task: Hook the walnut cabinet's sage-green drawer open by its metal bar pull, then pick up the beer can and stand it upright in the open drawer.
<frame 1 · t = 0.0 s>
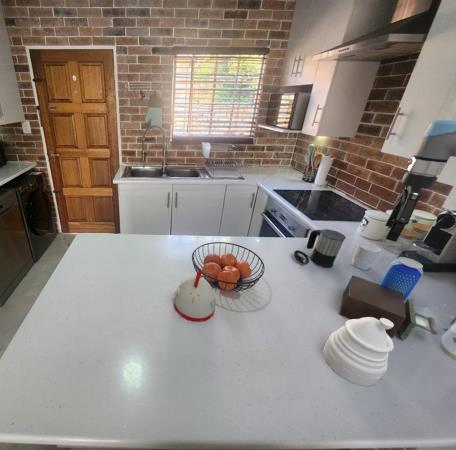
hand: (390, 233, 87), 25 cm above the countertop, tool pointing down, fingers open, 13 cm apart
white cup: (359, 265, 112), on the countertop
cabinet: (365, 313, 86), on the countertop
white and red dome: (194, 306, 86), on the countertop
honey pot: (349, 363, 69), on the countertop
drawer: (394, 313, 80), point 4 cm above the countertop, slide at 1.5 cm
milk frother: (312, 262, 113), on the countertop
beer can: (388, 297, 94), on the countertop
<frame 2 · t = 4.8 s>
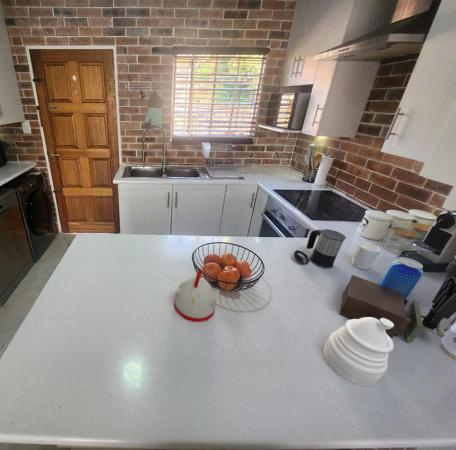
hand: (426, 327, 76), 4 cm above the countertop, tool pointing down, fingers closed
drawer: (399, 315, 80), point 4 cm above the countertop, slide at 2.9 cm, touching gripper
everything else where it was.
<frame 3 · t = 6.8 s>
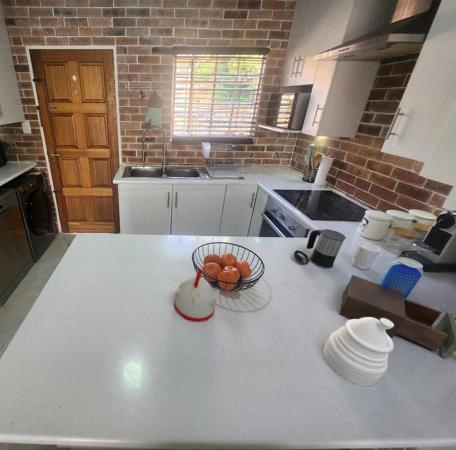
drawer: (433, 328, 75), point 4 cm above the countertop, slide at 10.7 cm
everything else where it was.
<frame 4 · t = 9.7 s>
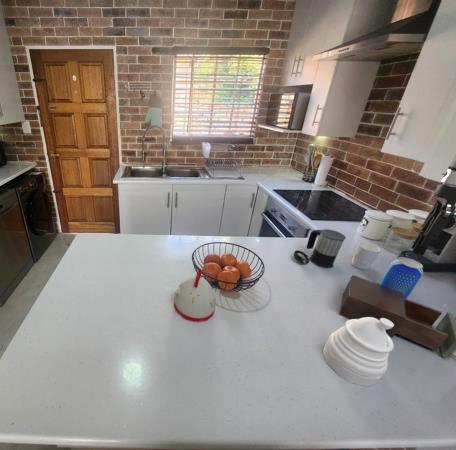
hand: (416, 251, 84), 21 cm above the countertop, tool pointing down, fingers open, 3 cm apart
nothing on the countertop moved.
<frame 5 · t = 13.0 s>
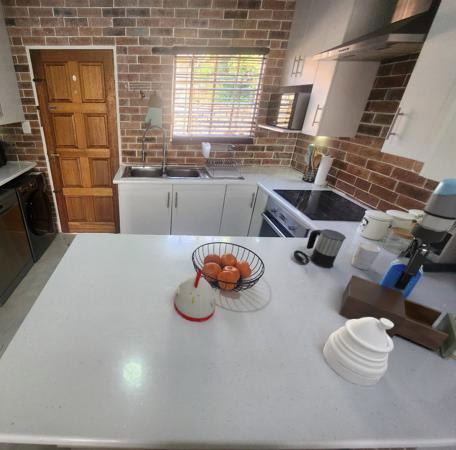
hand: (398, 281, 90), 7 cm above the countertop, tool pointing down, fingers closed on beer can, 8 cm apart
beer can: (388, 297, 94), on the countertop, touching gripper
everything else where it was.
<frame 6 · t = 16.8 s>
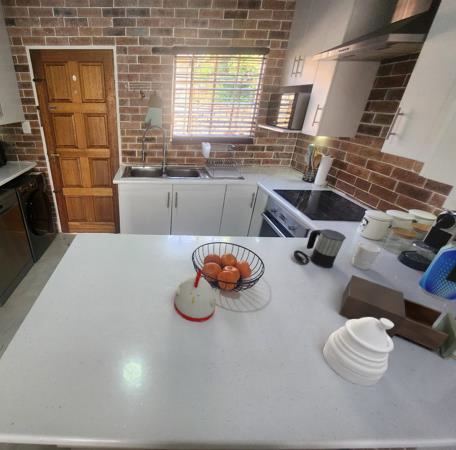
hand: (449, 273, 70), 22 cm above the countertop, tool pointing down, fingers closed on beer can, 8 cm apart
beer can: (434, 293, 74), point 15 cm above the countertop, touching gripper
everything else where it was.
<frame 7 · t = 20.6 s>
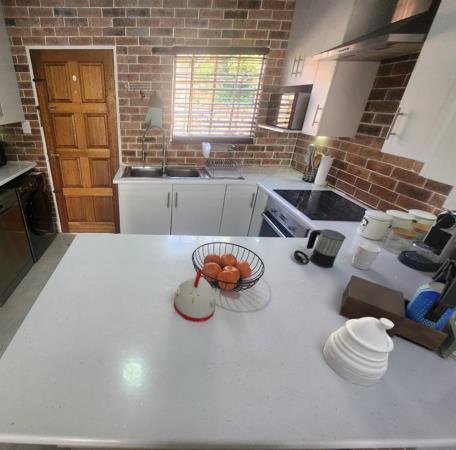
hand: (427, 311, 75), 9 cm above the countertop, tool pointing down, fingers closed on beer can, 8 cm apart
drawer: (433, 328, 75), point 4 cm above the countertop, slide at 10.6 cm, touching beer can
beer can: (414, 328, 78), point 2 cm above the countertop, touching drawer, gripper
everything else where it was.
when the fingers open (9 cm above the countertop, at t = 20.8 s): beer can stays where it is, resting on drawer.
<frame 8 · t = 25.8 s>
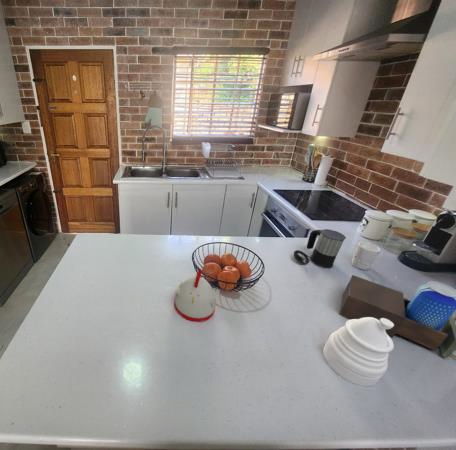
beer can: (414, 328, 78), point 2 cm above the countertop, touching drawer
everything else where it was.
at the end: drawer slide at 10.6 cm; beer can inside the target area in the drawer (0.2 cm from its centre), point 1.8 cm above the cabinet's base; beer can tilted 0° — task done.
